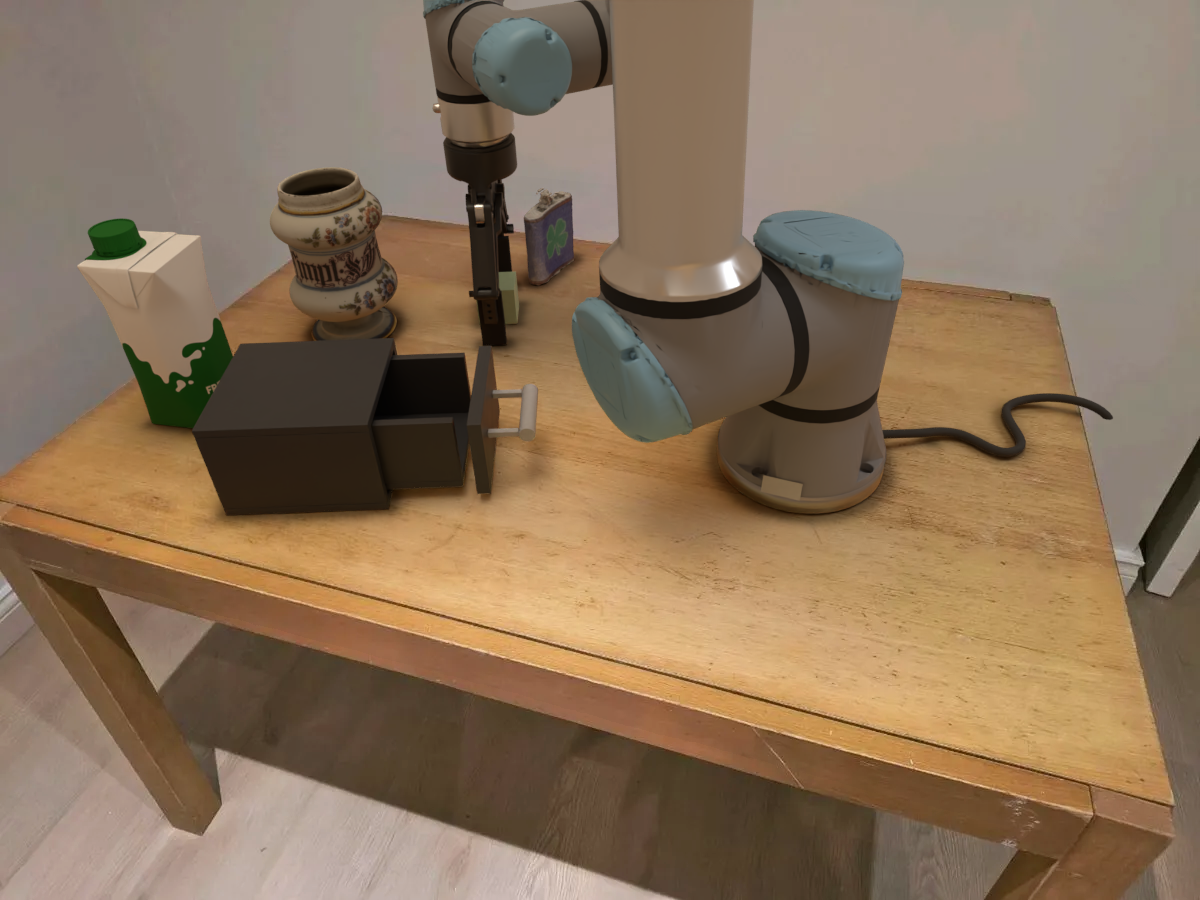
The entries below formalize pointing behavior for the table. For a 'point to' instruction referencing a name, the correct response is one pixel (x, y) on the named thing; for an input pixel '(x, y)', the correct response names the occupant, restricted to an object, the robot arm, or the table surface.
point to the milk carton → (160, 315)
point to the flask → (549, 236)
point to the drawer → (443, 420)
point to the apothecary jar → (335, 254)
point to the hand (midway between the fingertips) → (499, 313)
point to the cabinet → (297, 427)
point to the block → (508, 296)
